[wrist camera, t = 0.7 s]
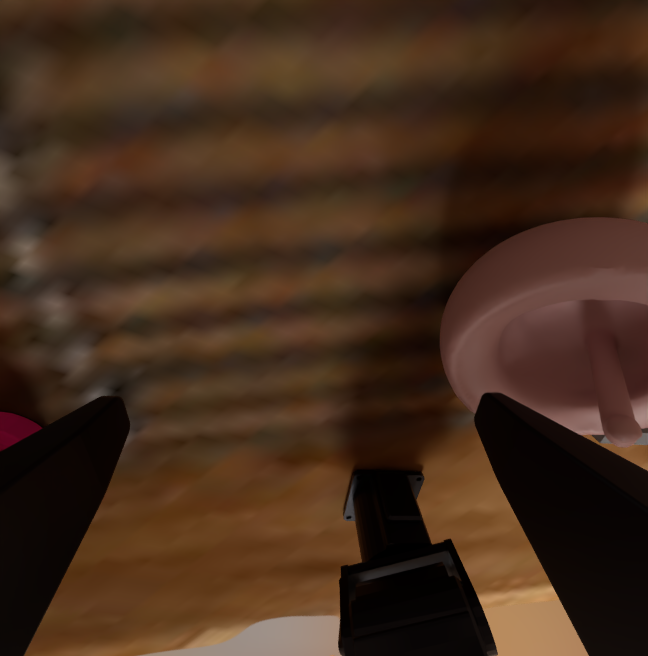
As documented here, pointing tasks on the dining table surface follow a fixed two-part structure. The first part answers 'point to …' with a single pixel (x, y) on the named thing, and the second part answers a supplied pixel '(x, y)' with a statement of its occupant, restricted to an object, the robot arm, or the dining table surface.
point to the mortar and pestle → (557, 326)
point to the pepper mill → (15, 429)
